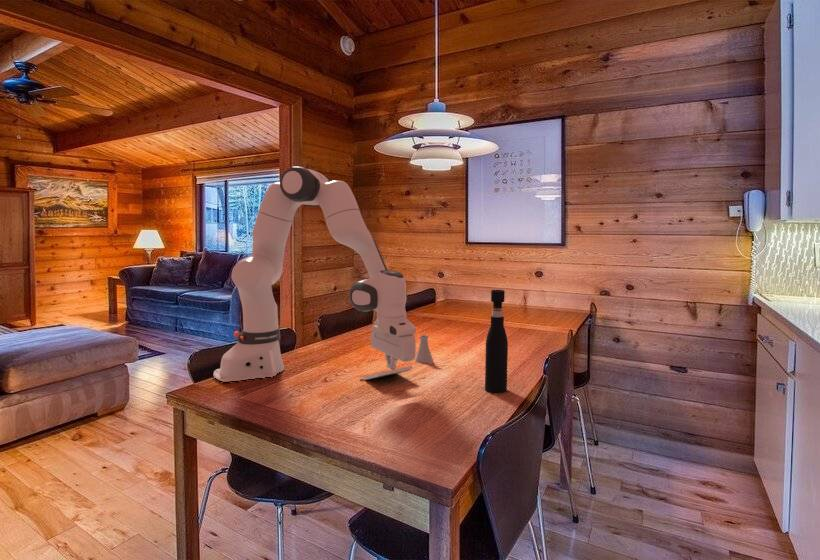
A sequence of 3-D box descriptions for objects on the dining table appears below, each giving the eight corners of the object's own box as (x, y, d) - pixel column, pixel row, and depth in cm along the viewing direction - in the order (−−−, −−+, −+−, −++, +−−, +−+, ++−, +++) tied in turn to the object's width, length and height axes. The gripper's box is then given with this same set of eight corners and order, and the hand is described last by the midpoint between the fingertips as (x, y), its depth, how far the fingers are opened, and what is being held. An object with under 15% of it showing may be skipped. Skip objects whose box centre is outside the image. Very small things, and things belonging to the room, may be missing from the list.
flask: (432, 367, 163) (432, 338, 162) (412, 365, 165) (412, 337, 164) (435, 361, 171) (435, 334, 169) (415, 360, 172) (415, 333, 171)
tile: (363, 380, 146) (378, 376, 138) (363, 376, 146) (378, 372, 138) (396, 373, 153) (412, 369, 145) (395, 370, 153) (411, 365, 145)
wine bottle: (502, 395, 136) (504, 292, 133) (481, 391, 140) (483, 291, 136) (509, 388, 142) (512, 290, 138) (489, 384, 145) (491, 288, 142)
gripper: (365, 319, 149) (365, 361, 150) (401, 332, 132) (401, 379, 134) (382, 317, 152) (382, 358, 154) (419, 329, 136) (419, 375, 137)
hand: (391, 368), depth 144 cm, fingers closed
